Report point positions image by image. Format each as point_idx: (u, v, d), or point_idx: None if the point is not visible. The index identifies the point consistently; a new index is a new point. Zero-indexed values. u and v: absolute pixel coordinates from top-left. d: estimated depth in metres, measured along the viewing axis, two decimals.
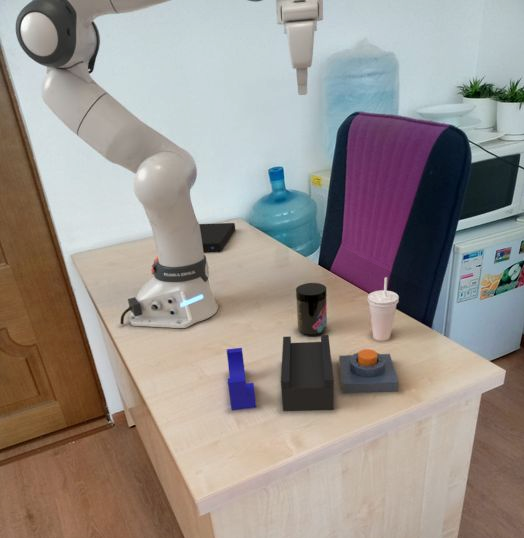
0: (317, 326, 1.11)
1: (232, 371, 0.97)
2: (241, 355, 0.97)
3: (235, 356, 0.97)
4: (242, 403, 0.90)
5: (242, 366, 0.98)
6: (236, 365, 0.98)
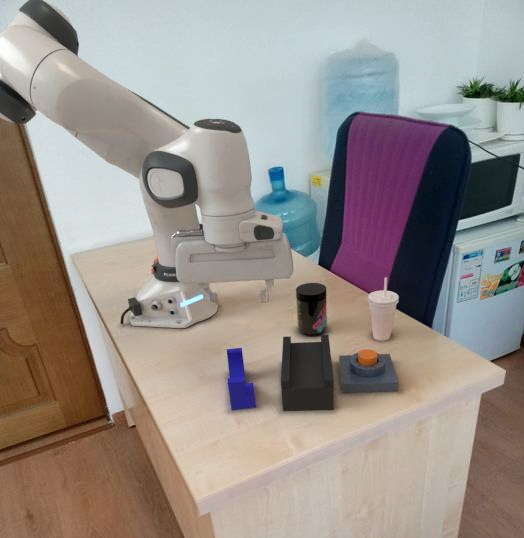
0: (317, 326, 1.11)
1: (232, 371, 0.97)
2: (241, 355, 0.97)
3: (235, 356, 0.97)
4: (242, 403, 0.90)
5: (242, 366, 0.98)
6: (236, 365, 0.98)
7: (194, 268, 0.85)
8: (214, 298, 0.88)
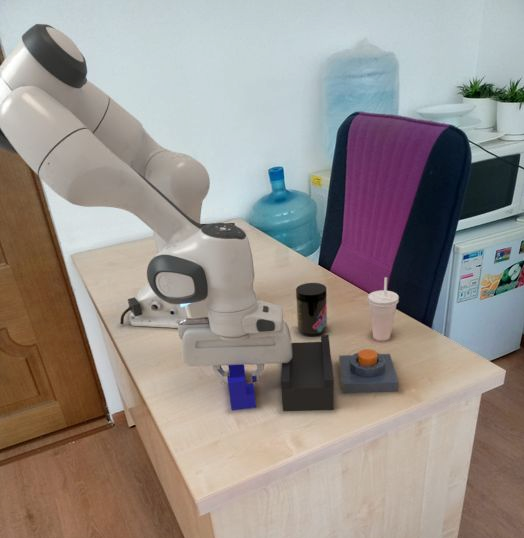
0: (317, 326, 1.11)
1: (232, 371, 0.97)
2: None
3: None
4: (242, 403, 0.90)
5: (242, 366, 0.98)
6: (236, 365, 0.98)
7: (200, 352, 0.90)
8: (226, 377, 0.94)
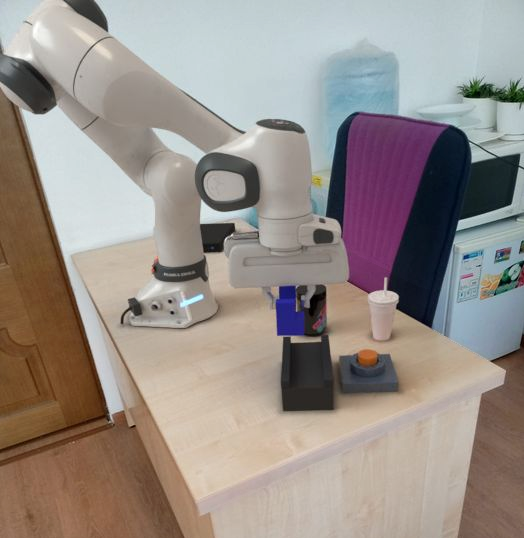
0: (317, 326, 1.11)
1: (282, 298, 0.89)
2: None
3: None
4: (289, 329, 0.82)
5: (294, 294, 0.89)
6: (288, 292, 0.89)
7: (247, 271, 0.83)
8: None
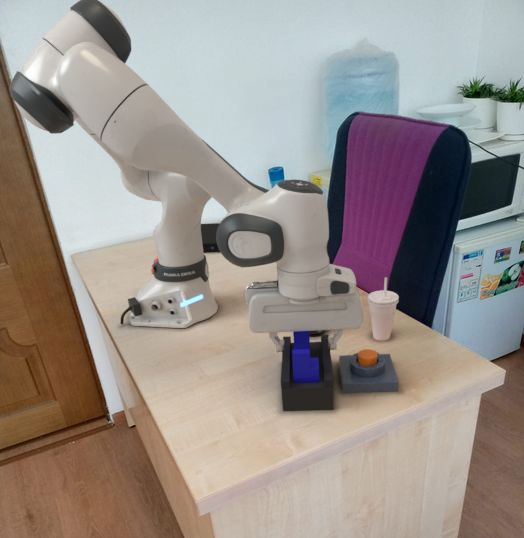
0: None
1: (297, 344, 0.94)
2: None
3: None
4: (305, 376, 0.87)
5: (308, 340, 0.94)
6: (302, 338, 0.94)
7: (267, 318, 0.87)
8: (283, 345, 0.91)
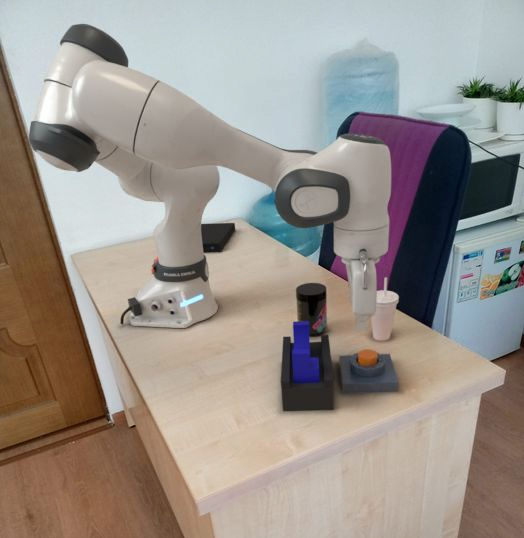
0: (317, 326, 1.11)
1: (297, 344, 0.94)
2: (307, 328, 0.94)
3: (301, 329, 0.94)
4: (305, 376, 0.87)
5: (308, 340, 0.94)
6: (302, 338, 0.94)
7: None
8: None
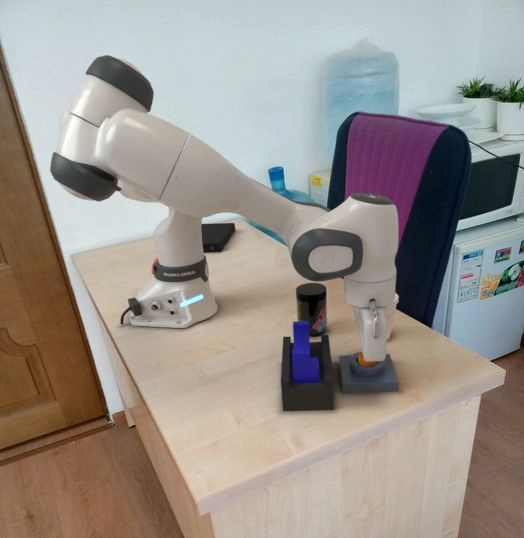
0: (317, 326, 1.11)
1: (297, 344, 0.94)
2: (307, 328, 0.94)
3: (301, 329, 0.94)
4: (305, 376, 0.87)
5: (308, 340, 0.94)
6: (302, 338, 0.94)
7: None
8: None
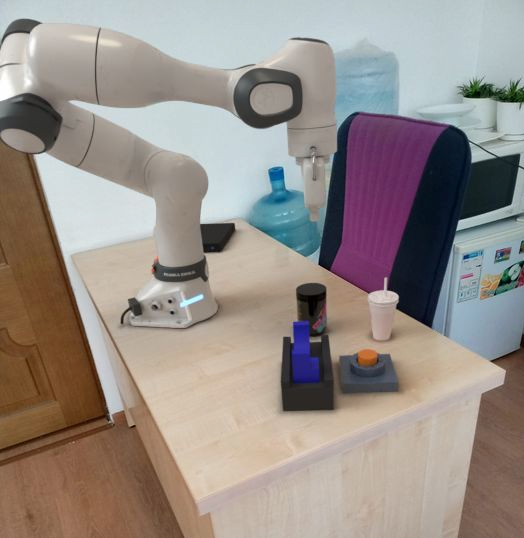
0: (317, 326, 1.11)
1: (297, 344, 0.94)
2: (307, 328, 0.94)
3: (301, 329, 0.94)
4: (305, 376, 0.87)
5: (308, 340, 0.94)
6: (302, 338, 0.94)
7: None
8: None
